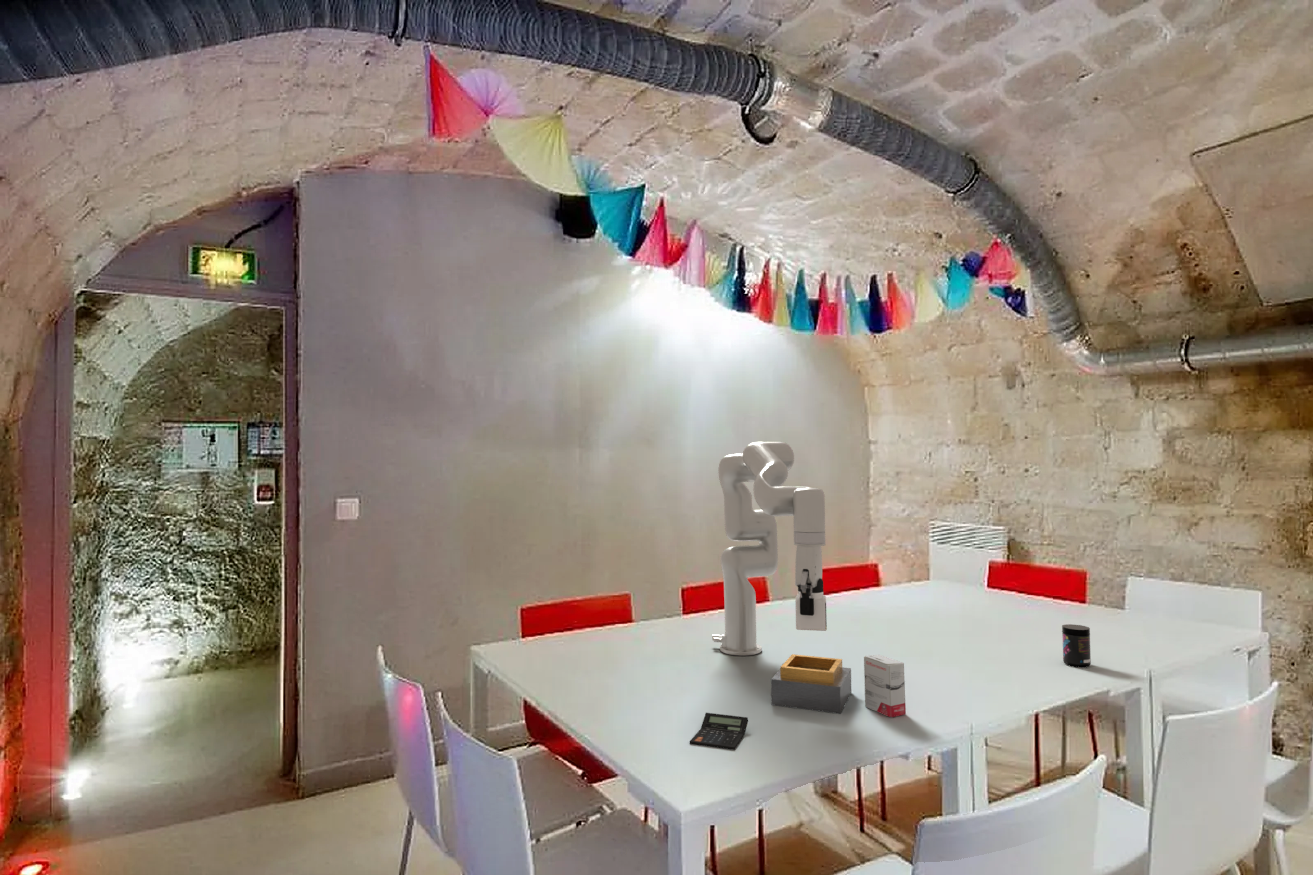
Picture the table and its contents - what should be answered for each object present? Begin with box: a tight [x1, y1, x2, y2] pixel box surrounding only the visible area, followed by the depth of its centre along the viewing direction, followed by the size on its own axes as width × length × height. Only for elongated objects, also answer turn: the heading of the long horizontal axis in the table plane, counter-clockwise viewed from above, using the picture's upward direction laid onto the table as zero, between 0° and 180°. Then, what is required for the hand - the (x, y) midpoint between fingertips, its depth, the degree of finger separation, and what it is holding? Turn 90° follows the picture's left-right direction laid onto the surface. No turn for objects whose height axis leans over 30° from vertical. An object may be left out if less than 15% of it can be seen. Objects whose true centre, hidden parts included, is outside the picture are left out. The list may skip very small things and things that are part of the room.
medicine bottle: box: [795, 578, 828, 632], centre depth 173 cm, size 7×7×12 cm
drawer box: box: [770, 653, 852, 715], centre depth 174 cm, size 16×18×8 cm
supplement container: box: [1061, 623, 1092, 668], centre depth 199 cm, size 7×7×10 cm
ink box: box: [863, 654, 907, 718], centre depth 164 cm, size 9×5×12 cm, turn 25°
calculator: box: [689, 712, 749, 751], centre depth 149 cm, size 9×12×3 cm
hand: (810, 611), depth 173 cm, fingers closed on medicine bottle, 8 cm apart
